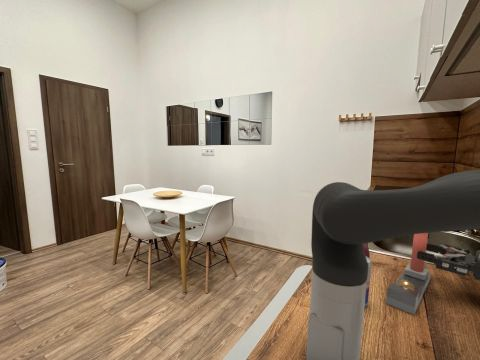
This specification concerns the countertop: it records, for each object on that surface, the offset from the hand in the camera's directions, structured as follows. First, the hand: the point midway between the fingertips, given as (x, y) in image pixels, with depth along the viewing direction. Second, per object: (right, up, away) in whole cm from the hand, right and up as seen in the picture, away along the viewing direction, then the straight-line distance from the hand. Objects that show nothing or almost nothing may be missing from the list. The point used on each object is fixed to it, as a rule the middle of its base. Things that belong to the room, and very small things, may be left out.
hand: (420, 249), depth 72 cm
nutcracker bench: (-5, -10, -3) cm, 12 cm away
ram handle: (0, -8, +2) cm, 8 cm away
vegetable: (-12, -8, +16) cm, 22 cm away
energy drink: (-23, -11, -8) cm, 27 cm away
